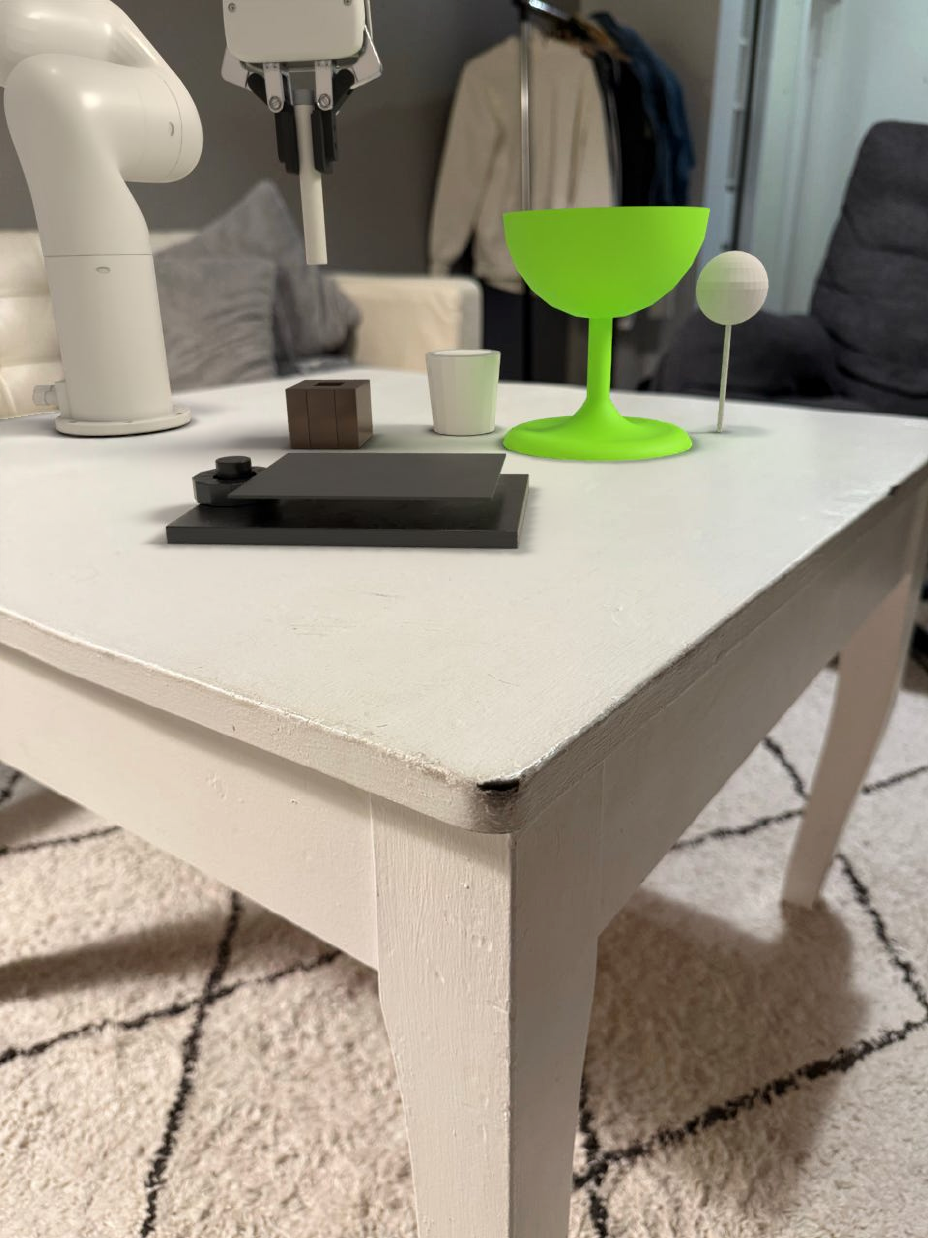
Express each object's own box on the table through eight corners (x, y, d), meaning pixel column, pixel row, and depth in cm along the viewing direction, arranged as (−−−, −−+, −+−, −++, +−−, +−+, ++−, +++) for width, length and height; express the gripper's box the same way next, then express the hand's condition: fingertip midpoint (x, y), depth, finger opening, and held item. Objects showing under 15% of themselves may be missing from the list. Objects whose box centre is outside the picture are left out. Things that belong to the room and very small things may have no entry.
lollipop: (758, 438, 78) (777, 249, 73) (687, 438, 79) (701, 251, 74) (749, 426, 84) (766, 250, 78) (683, 425, 85) (695, 251, 79)
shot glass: (494, 437, 81) (493, 355, 79) (419, 435, 82) (416, 355, 80) (506, 423, 87) (506, 347, 85) (436, 422, 89) (434, 348, 86)
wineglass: (546, 421, 88) (549, 217, 81) (712, 432, 81) (731, 211, 74) (470, 452, 75) (466, 212, 68) (661, 468, 68) (678, 203, 61)
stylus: (304, 264, 71) (290, 88, 67) (309, 264, 73) (295, 92, 68) (324, 264, 71) (311, 88, 67) (329, 264, 73) (316, 91, 68)
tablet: (154, 544, 52) (148, 502, 51) (237, 487, 65) (233, 452, 64) (517, 550, 50) (517, 505, 49) (528, 489, 63) (529, 453, 62)
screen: (227, 498, 52) (227, 495, 52) (288, 455, 63) (288, 452, 63) (491, 500, 50) (491, 497, 50) (506, 456, 61) (506, 453, 61)
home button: (212, 484, 57) (209, 462, 56) (224, 476, 59) (222, 455, 58) (246, 484, 56) (244, 462, 56) (257, 476, 59) (255, 455, 58)
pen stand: (290, 448, 78) (284, 388, 76) (308, 435, 84) (304, 379, 82) (359, 448, 77) (355, 388, 76) (373, 435, 83) (370, 379, 81)
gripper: (407, -111, 66) (418, 174, 72) (196, -97, 67) (226, 181, 74) (390, -154, 59) (404, 165, 65) (154, -138, 60) (192, 173, 67)
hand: (309, 171), depth 70 cm, fingers closed on stylus, 1 cm apart
